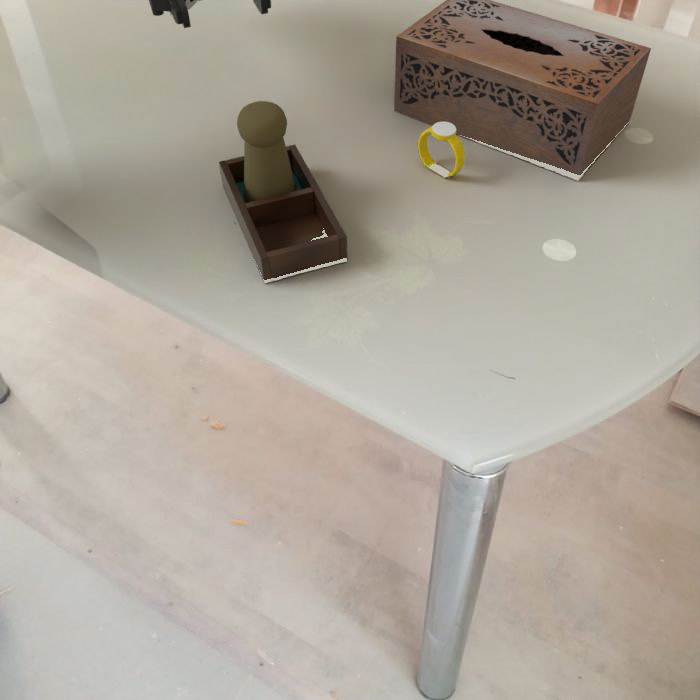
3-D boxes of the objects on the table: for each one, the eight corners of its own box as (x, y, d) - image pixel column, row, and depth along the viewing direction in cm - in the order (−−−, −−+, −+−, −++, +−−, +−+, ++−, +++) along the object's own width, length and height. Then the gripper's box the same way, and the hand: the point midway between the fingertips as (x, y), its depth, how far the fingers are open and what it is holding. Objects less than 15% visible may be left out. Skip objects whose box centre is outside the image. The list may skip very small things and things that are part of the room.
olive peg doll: (285, 173, 90) (277, 87, 82) (305, 202, 87) (298, 116, 78) (236, 187, 89) (223, 101, 80) (254, 217, 85) (242, 131, 77)
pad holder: (264, 284, 79) (260, 259, 77) (223, 186, 90) (218, 161, 87) (347, 262, 81) (346, 236, 79) (297, 169, 92) (295, 144, 89)
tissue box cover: (628, 123, 97) (651, 48, 89) (578, 181, 89) (597, 104, 82) (453, 63, 107) (459, -10, 99) (394, 110, 100) (396, 36, 92)
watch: (412, 166, 92) (414, 122, 87) (427, 156, 93) (430, 112, 89) (451, 187, 89) (456, 143, 85) (466, 176, 90) (471, 132, 86)
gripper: (125, -72, 88) (152, -13, 78) (246, -90, 91) (287, -35, 81) (139, -5, 93) (166, 57, 83) (253, -24, 96) (292, 34, 86)
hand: (226, 12), depth 82 cm, fingers open, 8 cm apart
